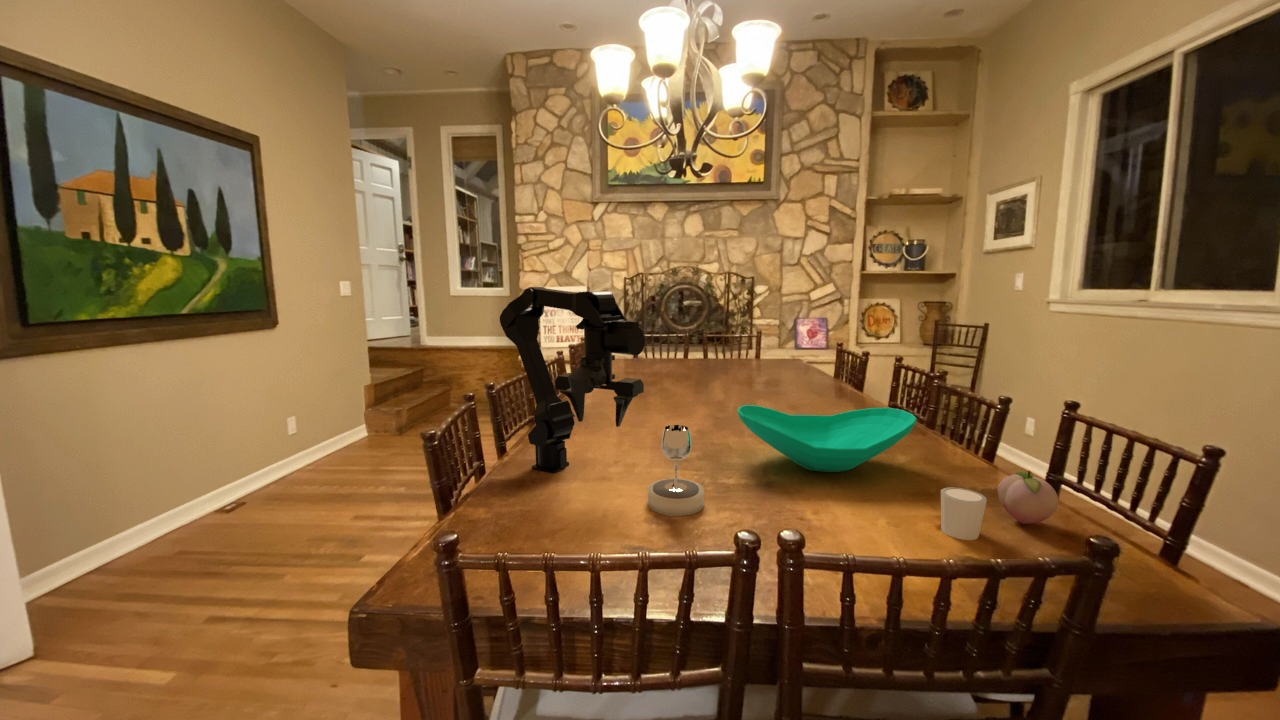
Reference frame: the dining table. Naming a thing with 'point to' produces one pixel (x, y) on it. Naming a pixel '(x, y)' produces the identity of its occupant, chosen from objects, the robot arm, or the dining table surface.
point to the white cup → (962, 512)
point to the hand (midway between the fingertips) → (599, 423)
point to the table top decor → (829, 435)
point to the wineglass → (676, 450)
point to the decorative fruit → (1027, 497)
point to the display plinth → (675, 498)
